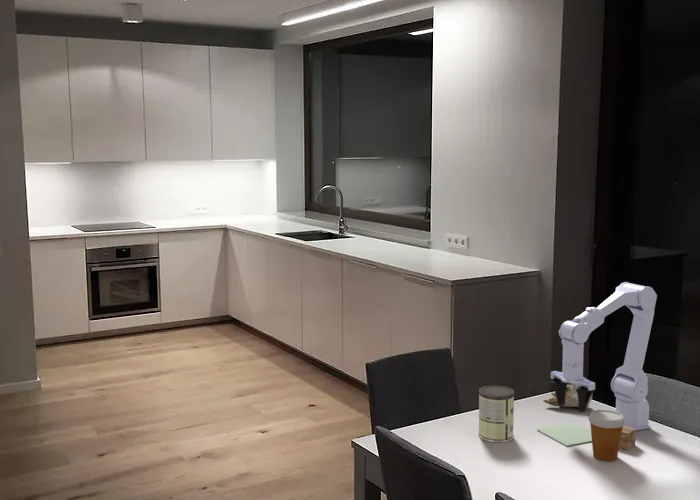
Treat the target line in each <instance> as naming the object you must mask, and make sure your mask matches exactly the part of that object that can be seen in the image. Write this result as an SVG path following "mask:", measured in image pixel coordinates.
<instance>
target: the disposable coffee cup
mask: <svg viewBox="0 0 700 500" xmlns="http://www.w3.org/2000/svg"><path fill="white" fill-rule="evenodd" d="M588 421H589V423H590V424H589V425H590V430H591V436H592V442H591V445H592V447H591V448H592V455H593V458H595V459H597V460H599V461H603V462H614V461H616V460H618V456H619V450H620V448H619V445H620V440H621V434H622V428H623V425H624V423H625V420H624V417H623V415H622V414H620V413H618V412H616V410H611V409H610V410H609V409H595V410H592V411H590V415H589V416H588Z"/></svg>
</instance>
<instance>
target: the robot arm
mask: <svg viewBox="0 0 700 500" xmlns="http://www.w3.org/2000/svg"><path fill="white" fill-rule="evenodd" d="M657 299H658V295H657V293H656V291H655V290H654V289H653V287H651V286H648V285H647V286H645V285H641V284H636V283H630V282H628V281H624V282H621V283H620V285H618V286H616V287H615V291H614V292H613V294H610V296H609V297H608V298H606V299H605V300H603V302H602V303H600V304H599V305H598V306H597V307H595V306H591V307H589V306H588V307H586V308H585V311H582V313H580V314H579V315H577V316H575V317H574V318H573V319H572V320H566V321H564V322H562V324H561V325H560V328H559V330H558V335H559V337H560V338H561V345H562V371H557V370H553V371H550V379H552V380H551V381H550V385H551V387H552V388H553V390H554V393H555V394H556V397H557V401H558V405H562V404H565V395H566V388H567V385H569V384H570V383H571V384H574V385H577V386H578V387H579V389H576V392H577V395H578V401H579V407H578V412H579V413H584V412H586V410H587V409H586V407H587V404H588V401H589V399H590V397H591V395H592V394H593V395H594V392H595V390H596V382H594V381H591V380H589V379H587V378H586V377H584V349H585V348H584V347H585V342H587V340H588V339H589V336H590V335H591V333H592V332H593V331H594V330H596V329H598V328H599V327H600V326H601V325H602V324H604V322H605V318H606V317H607V316H608V315H609V316H610V314H612V313H614V312H615V311H616V310H619V309H620V308H621V307H623V306H626V307H627V308H628V309H629V310H630V311H631V313H632V314H633V318H632V323H631V328H630V333H629V336H628V337H629V338H628V342H627V347H626V352H625V355H624V360H623V361H624V362H623V365H621V366H619V367H618V368H616V369H615V374H614V376H613V378H612V379H611V382H610V388H611V389H610V390H611V391H612V392H613V393H614V397H615V412H618V413H620V414H622V415H623V417H624V420H625V423H624V425H623V426H627V427H631V428H635V429H636V432H637V431H642V430H647V429H651V426H650V425H649V423H650V421H649V420H650V405H649V402H648V400H647V399H646V397H647V395H648V392H649V385H648V382H649V377H648V376H647V374H646V373H645V372H644V370H643V368H644V367H643V366H644V363H645V357H646V353H647V349H648V343H649V339H650V334H651V329H652V325H653V321H654V316H655V308H656V302H657ZM593 395H592V396H593Z"/></svg>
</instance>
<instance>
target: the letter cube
mask: <svg viewBox="0 0 700 500" xmlns="http://www.w3.org/2000/svg"><path fill="white" fill-rule="evenodd" d="M636 433H637V431H636V429H635V428H631V427H627V426H623V428H622V434H621V440H620V445H619V449H622V450H626V451H629V450H630V449H632V448H634V447H635V446H636V435H637V434H636Z"/></svg>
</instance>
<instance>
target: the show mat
mask: <svg viewBox="0 0 700 500" xmlns="http://www.w3.org/2000/svg"><path fill="white" fill-rule="evenodd" d="M537 430H538V432H539V431H540V432H539V433H541V434H543V435H545V436H546V437H548V438H550V439H553V440H554V441H555V442H557V443H559V444H561V445H562V446H565V447H571V446H572V447H573V446H577V445H583V444H589V443H592V436H591V429H589V428H586V427H585V426H582V425H581V424H579V423H576V422H574V421H573V422H568V423H562V424H557V425H551V426H546V427H541V428H536V431H537Z"/></svg>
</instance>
